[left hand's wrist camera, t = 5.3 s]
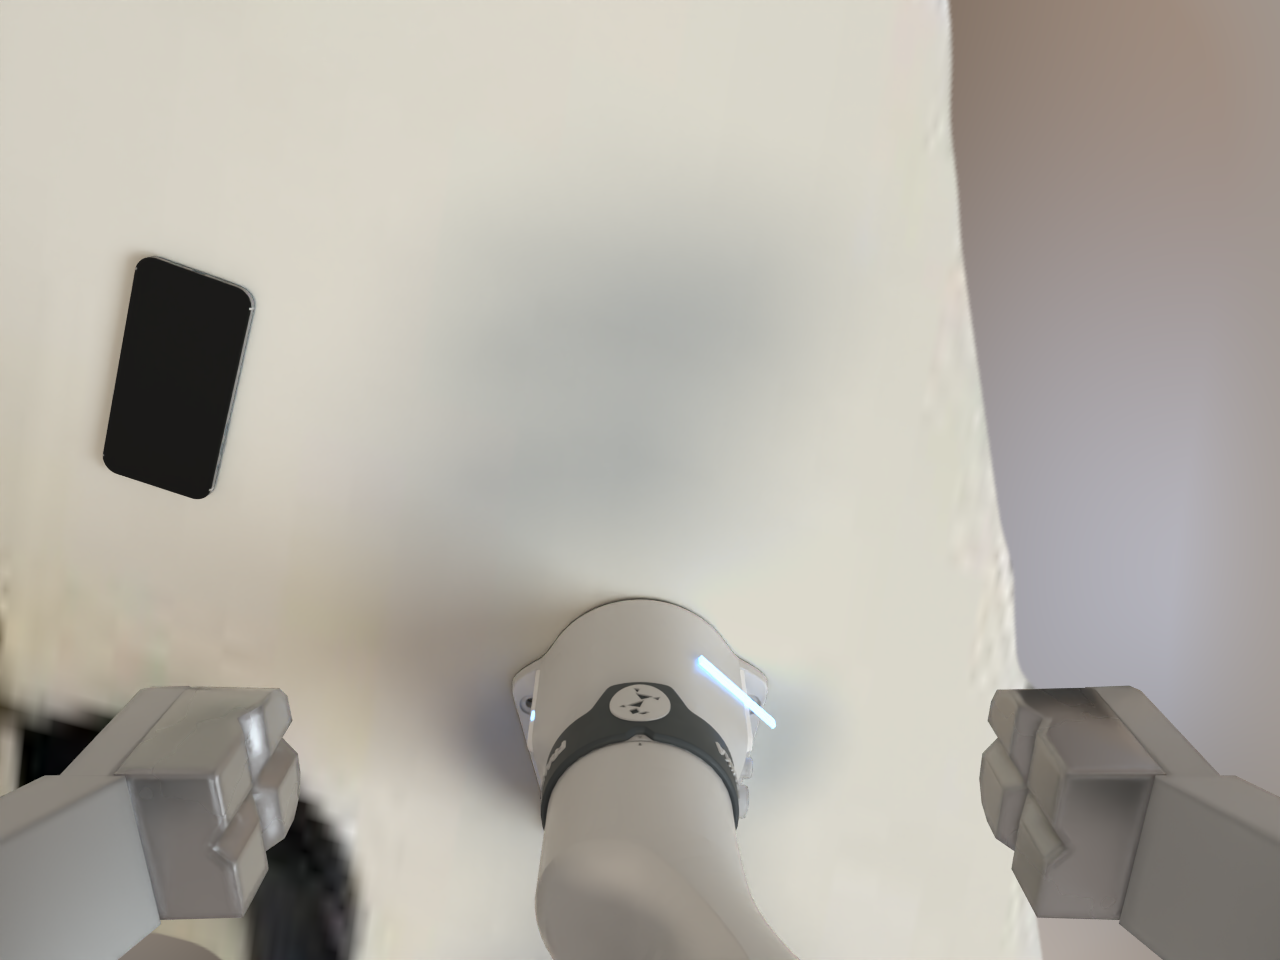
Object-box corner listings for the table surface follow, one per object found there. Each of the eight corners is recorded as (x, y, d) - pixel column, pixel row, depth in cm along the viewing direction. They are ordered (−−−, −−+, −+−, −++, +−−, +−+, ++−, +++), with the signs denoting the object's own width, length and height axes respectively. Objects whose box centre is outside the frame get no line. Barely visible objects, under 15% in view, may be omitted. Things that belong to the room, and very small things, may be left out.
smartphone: (254, 293, 55) (208, 504, 60) (259, 292, 56) (212, 500, 61) (136, 251, 54) (99, 468, 59) (142, 250, 55) (104, 465, 60)
